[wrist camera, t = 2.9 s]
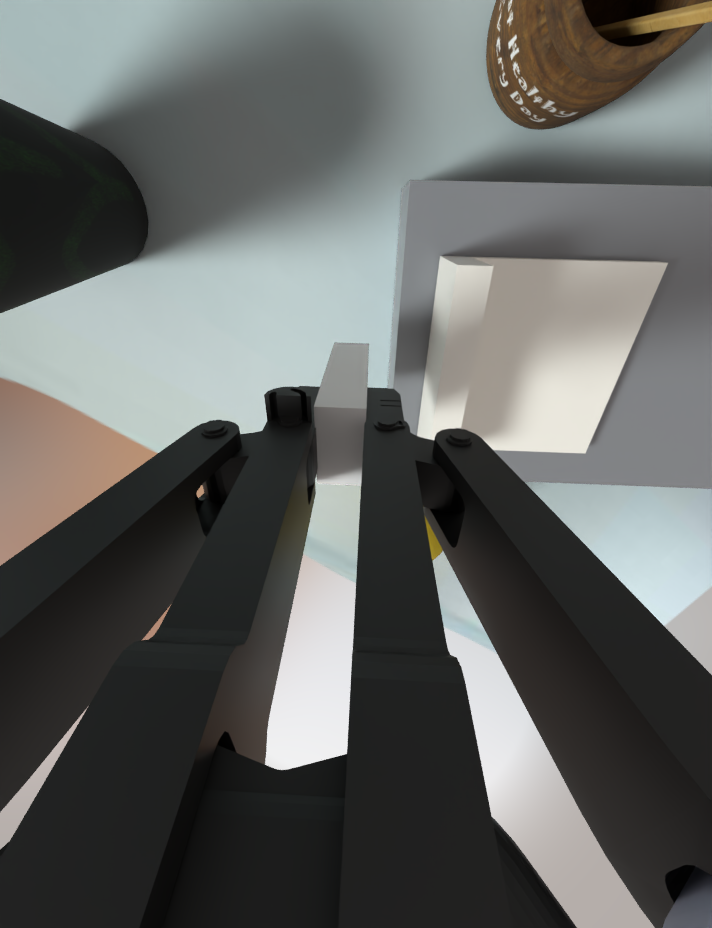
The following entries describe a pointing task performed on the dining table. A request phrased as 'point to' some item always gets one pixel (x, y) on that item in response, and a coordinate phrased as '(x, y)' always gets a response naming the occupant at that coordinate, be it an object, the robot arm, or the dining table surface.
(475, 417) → the panel
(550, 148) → the dining table surface
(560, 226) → the socket block
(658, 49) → the utensil holder
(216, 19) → the dining table surface
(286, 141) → the dining table surface
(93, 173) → the cup
